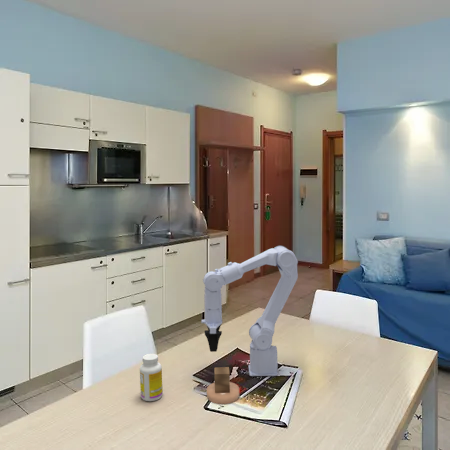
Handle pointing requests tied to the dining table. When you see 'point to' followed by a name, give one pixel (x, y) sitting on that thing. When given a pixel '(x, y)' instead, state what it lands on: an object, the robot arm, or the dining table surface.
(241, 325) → the dining table surface
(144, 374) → the supplement bottle
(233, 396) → the tan round disc
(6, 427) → the dining table surface
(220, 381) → the walnut block
